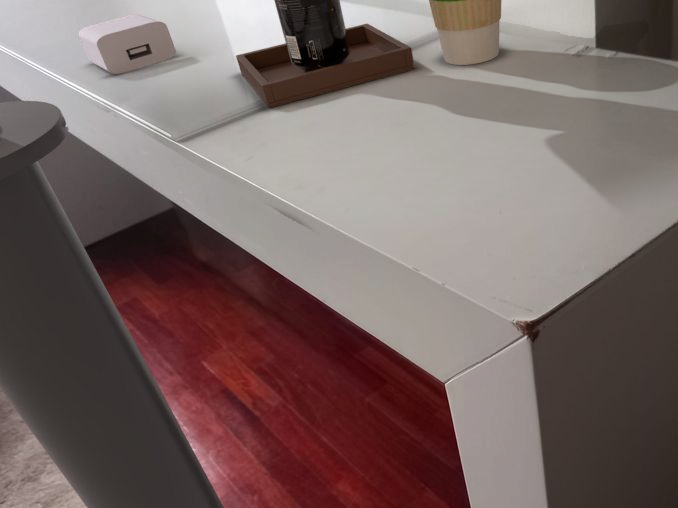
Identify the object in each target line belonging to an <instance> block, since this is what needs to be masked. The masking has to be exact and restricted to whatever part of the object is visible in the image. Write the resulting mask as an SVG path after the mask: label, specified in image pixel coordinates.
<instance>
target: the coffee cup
mask: <svg viewBox="0 0 678 508" xmlns="http://www.w3.org/2000/svg"><path fill="white" fill-rule="evenodd" d="M428 2H429V7H430V10H431V15H432V18H433V23H434V27H435V28H436V30H437V34H438V35H437V36H438V39H439V42H440V46H441V52H442V56H443V60H444V62H445V63H446V64H450V65H456V66H464V65H465V66H468V65H475V64H480V63H481V64H482V63H484V62H488V61H490V60H493V59H495V58H496V57H498V55H499V53H500V21H501V19H502V18H501V17H502V0H428Z"/></svg>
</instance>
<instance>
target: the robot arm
mask: <svg viewBox="0 0 678 508" xmlns="http://www.w3.org/2000/svg"><path fill="white" fill-rule="evenodd" d="M329 1H330V0H299V2H300V5H301V6H303V7H309V6H313V5H317V4H322V3H326V2H329Z"/></svg>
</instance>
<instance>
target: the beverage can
mask: <svg viewBox="0 0 678 508" xmlns="http://www.w3.org/2000/svg"><path fill="white" fill-rule="evenodd" d="M273 1H274V4H275V9H276V13H277V16H278V19H279V23H280V27H281V31H282V34H283V39H284V42H285V43H286V46H287V49H288V53H289V56H290V60H291V63H292V64H293V65H294V66H296V67H298V68H300V69H302V70H303V71H306V72H310V71H314V70H318V69H322V68H326V67H329V66H333V65H337V64H341V63H343V62H344V61H345V60H346V58H347V57H348V56H349V54H350V48H349V43H348V38H347V33H346V29H347V28H346V24H345V19H344V15H343V10H342V6H341V0H330V1H329V2H326V3H322V4H317V5H313V6H309V7H303V6H301V5H300V2H299V0H273Z"/></svg>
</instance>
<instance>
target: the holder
mask: <svg viewBox="0 0 678 508" xmlns="http://www.w3.org/2000/svg"><path fill="white" fill-rule="evenodd" d="M346 33H347V38H348V43H349V48H350V54H349V56H348V57H347V58H346V60H345V61H344V62H343V63H341V64H337V65H333V66H329V67H326V68H322V69H318V70H314V71H310V72H306V71H303V70H302V69H300V68H298V67H296V66H294V65H293V64H292V63H291V60H290V56H289V53H288V49H287V46H286V42H285V43H281V44H277V45H273V46H269V47H265V48H261V49H257V50H252V51H248V52H245V53H240V54H236V55H235V59H236V61H237V64H238V67H239V71H240V74H241V76H242V77H243V78H244V79H245V81H246V82H247V83H248V85H249V86H250V87H251V88H252V89H253V90H254V92H255V93H256V95H258V97H259V98H260V99H261V100H262V102H263V103H264V104H265V105H266V107H268V108H269V109H271V108H275V107H278V106H279V107H280V106H282V105H286V104H290V103H294V102H298V101H301V100H305V99H309V98H312V97H316V96H320V95H323V94H327V93H332V92H335V91H339V90H342V89H345V88H349V87H352V86H357V85H360V84H364V83H367V82H372V81H375V80H378V79H383V78H387V77H390V76H394V75H398V74H402V73H405V72H408V71H413V70H415V68H416V67H415V62H414V55H413V50H412V47H411V46H409V45H408V44H406V43H404V42H402V41H400V40H398V39H397V38H395V37H393V36H391V35H389V34H387V33H385V32H384V31H382V30H380V29H378V28H377V27H374V26H373V25H371V24H369V23H364V24H359V25H355V26H351V27H347V28H346Z"/></svg>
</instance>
